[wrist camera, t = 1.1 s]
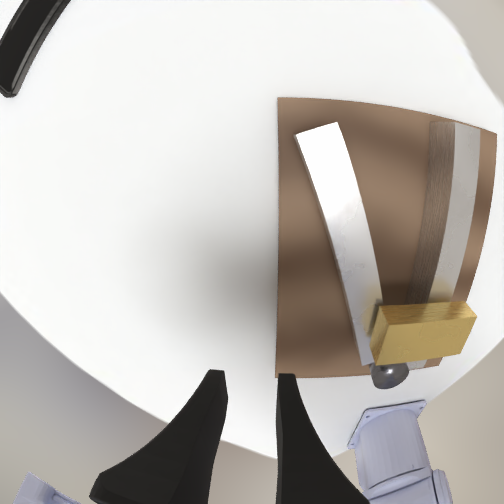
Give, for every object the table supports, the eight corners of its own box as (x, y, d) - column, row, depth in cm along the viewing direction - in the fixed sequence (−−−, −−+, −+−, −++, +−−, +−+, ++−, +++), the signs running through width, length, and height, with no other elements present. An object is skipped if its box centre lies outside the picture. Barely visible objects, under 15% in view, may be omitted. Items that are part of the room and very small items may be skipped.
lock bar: (449, 336, 15) (459, 353, 13) (369, 345, 16) (375, 365, 14) (464, 300, 14) (477, 316, 12) (379, 305, 14) (388, 325, 13)
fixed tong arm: (406, 355, 20) (419, 384, 17) (360, 359, 21) (369, 391, 18) (453, 127, 13) (485, 130, 10) (396, 115, 13) (423, 112, 10)
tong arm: (378, 330, 19) (389, 356, 17) (354, 338, 20) (362, 366, 17) (326, 124, 14) (337, 122, 11) (292, 135, 15) (296, 134, 12)
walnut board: (435, 358, 22) (438, 365, 21) (275, 369, 23) (274, 377, 22) (488, 132, 13) (496, 133, 12) (277, 99, 15) (277, 97, 14)
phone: (101, -44, 9) (9, 101, 14) (107, -40, 10) (17, 100, 15) (59, -49, 7) (-17, 76, 13) (65, -45, 9) (-10, 76, 14)
